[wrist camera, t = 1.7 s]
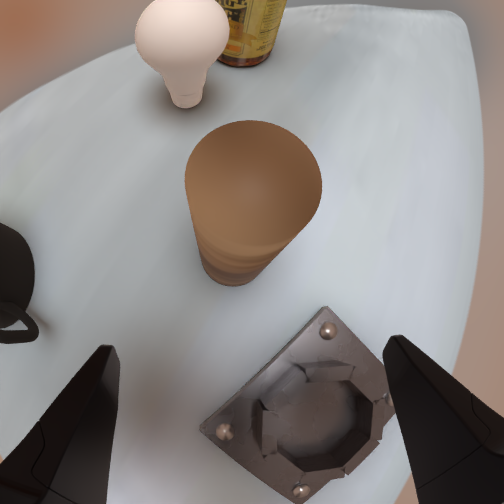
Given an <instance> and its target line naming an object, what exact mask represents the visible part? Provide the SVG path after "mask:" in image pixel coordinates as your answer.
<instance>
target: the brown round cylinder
mask: <svg viewBox="0 0 504 504" xmlns="http://www.w3.org/2000/svg"><path fill="white" fill-rule="evenodd" d="M185 189H186V194H187V199H188V204H189V208H190V213H191V218H192V222H193V227H194V231H195V235H196V240H197V244H198V248H199V253H200V257H201V261H202V265H203V267H204V269H205V271H206V273H207V274H208V275H209V276H210V277H211V278H212V279H213V280H214V281H216V282H218V283H220V284H222V285H225V286H241V285H244V284H247V283H249V282H250V281H252V280H253V279H254V278H255V277H256V276H257V275H258V274H259V273H260V272H261V271H262V270H263V269H264V268H265V267H266V266H267V265H268V264H269V263H270V262H271V261H272V260H273V259H274V258H275V257H276V256H277V255H278V254H279V253H280V252H281V251H282V250H283V249H284V248H285V247H286V246H287V245H288V244H289V243H290V242H291V241H292V240H293V239H294V238H295V237H296V236H297V234H298V233H299V232H300V231H301V230H302V229H303V228H304V227H305V226H306V225H307V224H308V223H309V222H310V220H311V219H312V217H313V216H314V214H315V213H316V211H317V208H318V206H319V203H320V199H321V194H322V179H321V173H320V169H319V166H318V164H317V161H316V159H315V157H314V156H313V154H312V152H311V151H310V150H309V148H308V147H307V146H306V145H305V144H304V143H303V142H302V141H301V140H300V139H299V138H298V137H297V136H295V135H294V134H293V133H291V132H289V131H288V130H286V129H284V128H282V127H280V126H277V125H274V124H272V123H267V122H263V121H253V120H246V121H237V122H232V123H229V124H226V125H223V126H221V127H219V128H217V129H215V130H213V131H212V132H210V133H209V134H207V135H206V136H205V137H204V138H203V139H202V140H201V141H200V142H199V143H198V144H197V145H196V147H195V148H194V150H193V151H192V153H191V155H190V157H189V160H188V163H187V166H186V171H185Z"/></svg>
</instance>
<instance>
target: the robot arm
mask: <svg viewBox="0 0 504 504" xmlns="http://www.w3.org/2000/svg"><path fill="white" fill-rule="evenodd" d="M382 356H383V362H384V366H385V371H386V376H387V381H388V386H389V391H390V395H391V399H392V402H393V405H394V409H395V412H396V415H397V419H398V422H399V426H400V429H401V433H402V436H403V440H404V444H405V447H406V451H407V455H408V459H409V463H410V467H411V471H412V475H413V479H414V483H415V488H416V493H417V497H418V502H419V504H504V418H503V417H502V416H501V415H499V414H498V413H496V412H495V411H494V410H492V409H491V408H489V407H488V406H487V405H486V404H485V403H483V402H482V401H481V400H480V399H478V398H477V397H476V396H475V395H474V394H473V393H471V392H470V391H469V390H468V389H467V388H465V387H464V386H463V385H462V384H461V383H460V382H458V381H457V380H456V379H455V378H454V377H453V376H451V375H450V374H449V373H448V372H447V371H445V370H444V369H443V368H442V367H441V366H439V365H438V364H437V363H436V362H435V361H433V360H432V359H431V358H430V357H429V356H427V355H426V354H425V353H424V352H423V351H421V350H420V349H419V348H418V347H417V346H415V345H414V344H413V343H412V342H410V341H409V340H408V339H407V338H406V337H404V336H403V335H394V336H391V337H390V338H389V340H388V342H387V344H386V346H385V348H384V350H383V354H382ZM119 378H120V361H119V358H118V356H117V353H116V350H115V348H114V346H113V345H100V346H99V347H98V348H97V350H96V351H95V352H94V353H93V354H92V355H91V357H90V358H89V359H88V360H87V361H86V363H85V364H84V365H83V366H82V367H81V369H80V370H79V371H78V372H77V373H76V375H75V376H74V377H73V378H72V379H71V381H70V382H69V383H68V384H67V385H66V387H65V388H64V389H63V390H62V392H61V393H60V394H59V395H58V397H57V398H56V399H55V400H54V401H53V403H52V404H51V405H50V406H49V408H48V409H47V410H46V412H45V413H44V414H43V415H42V417H41V418H40V419H39V421H38V422H37V423H36V424H35V425H34V427H33V428H32V429H31V430H30V432H29V433H28V434H27V435H26V437H25V438H24V439H23V440H22V441H21V442H20V443H19V445H18V446H17V447H16V448H15V449H14V450H13V451H12V452H11V453H10V454H9V455H8V456H7V457H6V458H5V459H4V460H3V461H2V463H1V464H0V504H106V501H107V489H108V479H109V469H110V461H111V453H112V445H113V438H114V431H115V424H116V418H117V411H118V395H119Z"/></svg>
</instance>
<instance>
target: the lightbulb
mask: <svg viewBox="0 0 504 504" xmlns="http://www.w3.org/2000/svg"><path fill="white" fill-rule="evenodd" d="M229 30H230V28H229V22H228V18H227V15H226V13H225V11H224V10H223V8H222V7H221V6H220V5H219V4H218V3H217V2H216V1H215V0H155V1H153V2H152V3H151V4H150V5H149V6H148V7H147V8H146V9H145V10H144V11H143V13H142V15H141V16H140V18H139V20H138V22H137V25H136V31H135V43H136V47H137V51H138V52H139V54H140V55H141V57H142V59H143V60H144V61H145V62H146V63H147V64H148V65H150V66H151V67H152V68H153V69H154V70H156V71H157V72H159V73H160V74H161V75H162V77H163V79H164V81H165V85H166V87H167V89H168V90H169V91H170V95H171V98H172V101H173V103H174V104H175V105H176V106H178V107H180V108H190V107H193V106H195V105H197V104H198V103H199V102H200V101H201V99H202V94H203V93H202V92H203V86H204V84H205V82H206V74H207V71H208V69H209V67H210V66H211V65H212V64H213V63H214V62H215V61H216V60H217V58H218V57H219V56H220V55H221V53H222V52H223V51H224V49H225V47H226V44H227V42H228V39H229Z"/></svg>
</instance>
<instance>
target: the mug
mask: <svg viewBox="0 0 504 504" xmlns="http://www.w3.org/2000/svg"><path fill="white" fill-rule="evenodd" d="M33 285H34V263H33V258H32V254H31V251H30V249H29V246H28V244H27V243H26V241H25V239H24V238H23V237H22V236H21V235H20V234H19V233H18V232H17V231H15V230H13V229H12V228H10V227H8V226H6V225H4V224H2V223H0V328H6V327H8V326H10V325H12V324H14V323H15V322H16V321H17V320H18V319H20V320H21V321H22V322H23V323H24V324H25V325H26V326H27V328H28V330H0V343H4V344H13V343H26V342H32V341H34V340H36V339H37V337H38V335H39V329H38V326H37V325H36V323H35V322H34V320H33V319H32V318H31V317H30V316H29V315H28V314H27V313H26V312H25V310H26V308H27V306H28V304H29V301H30V299H31V295H32V291H33Z"/></svg>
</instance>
